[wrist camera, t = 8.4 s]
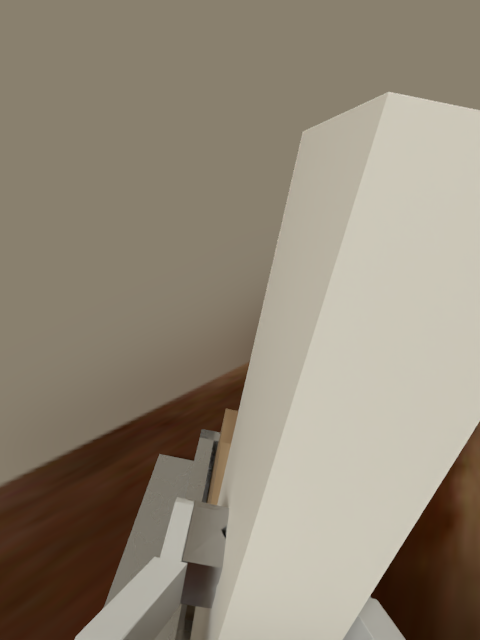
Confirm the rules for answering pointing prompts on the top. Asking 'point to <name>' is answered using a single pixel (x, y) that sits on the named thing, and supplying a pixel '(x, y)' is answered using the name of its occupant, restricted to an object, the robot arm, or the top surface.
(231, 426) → the short offcut
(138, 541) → the slot rack
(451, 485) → the top surface
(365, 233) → the tall panel
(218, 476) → the tall offcut
